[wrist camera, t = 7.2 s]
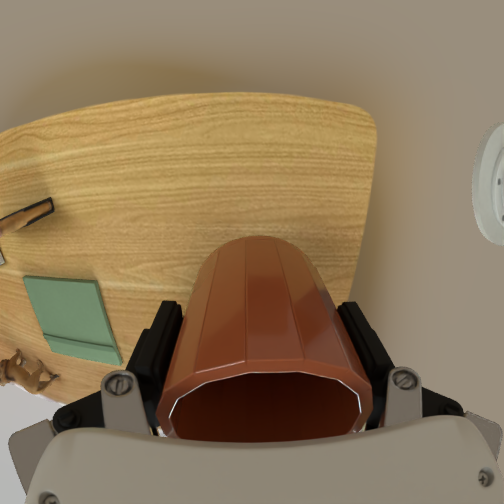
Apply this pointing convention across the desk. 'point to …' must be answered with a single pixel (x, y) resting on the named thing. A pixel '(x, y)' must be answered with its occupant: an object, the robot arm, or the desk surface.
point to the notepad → (73, 318)
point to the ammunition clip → (25, 216)
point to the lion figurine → (23, 375)
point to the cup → (262, 353)
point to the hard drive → (1, 259)
